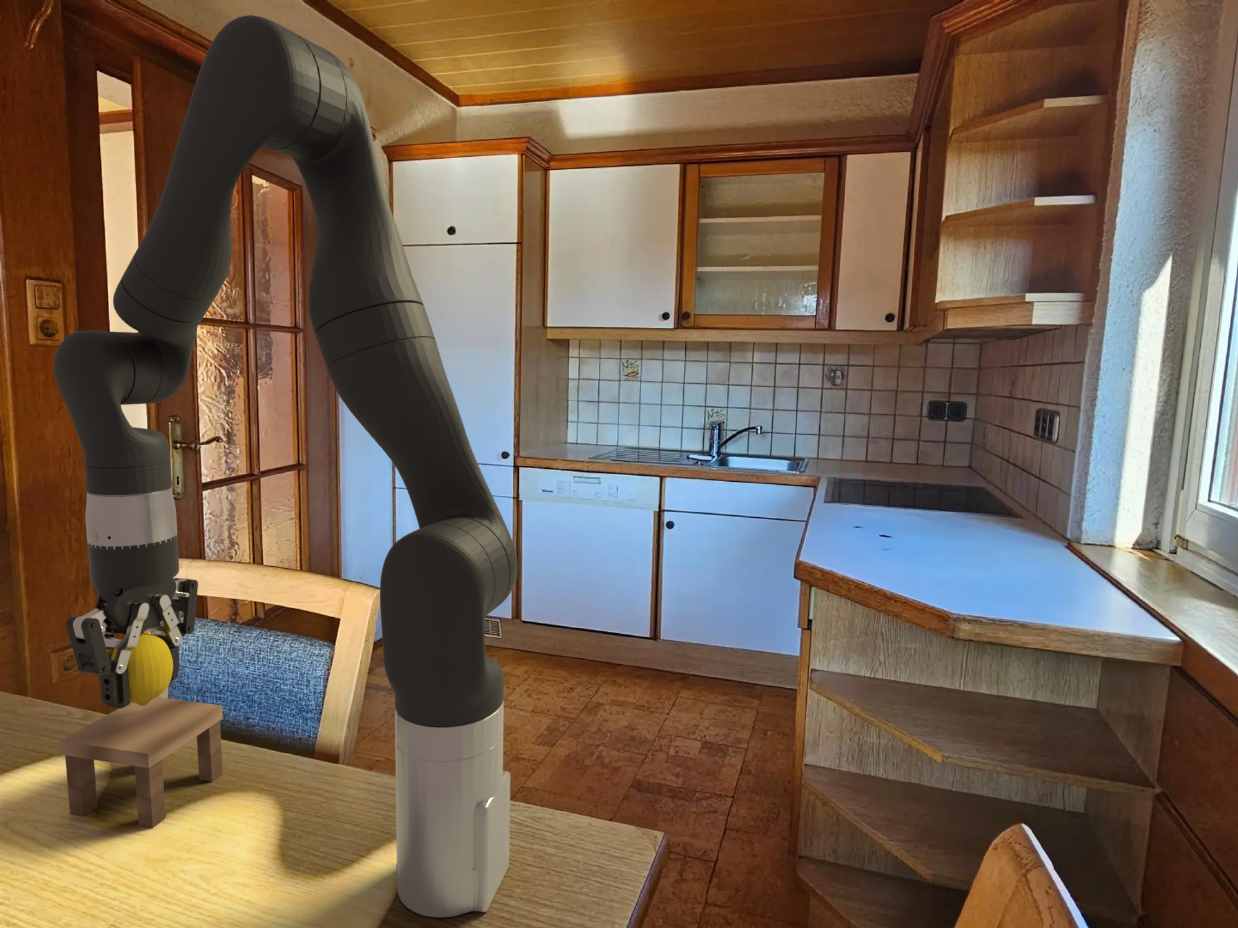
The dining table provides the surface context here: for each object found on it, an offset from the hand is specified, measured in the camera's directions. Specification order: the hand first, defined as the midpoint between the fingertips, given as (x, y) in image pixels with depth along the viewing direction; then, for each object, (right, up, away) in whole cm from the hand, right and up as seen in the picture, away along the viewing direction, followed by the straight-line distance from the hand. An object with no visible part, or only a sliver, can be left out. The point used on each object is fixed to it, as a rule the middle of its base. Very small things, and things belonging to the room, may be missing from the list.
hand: (143, 691), depth 75 cm
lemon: (0, -2, 0) cm, 2 cm away
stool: (0, -11, +2) cm, 11 cm away
